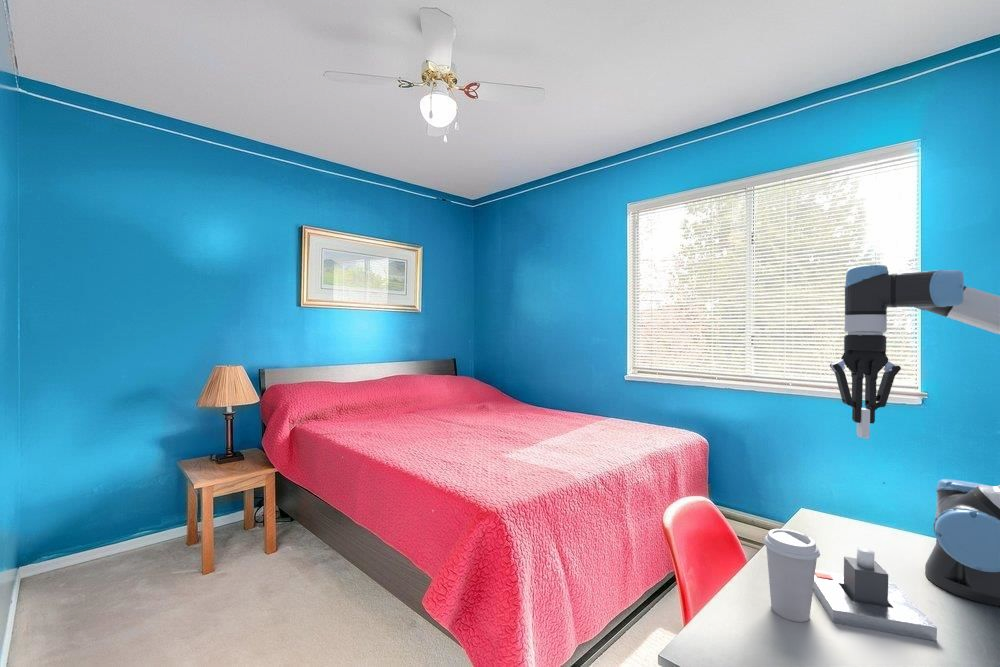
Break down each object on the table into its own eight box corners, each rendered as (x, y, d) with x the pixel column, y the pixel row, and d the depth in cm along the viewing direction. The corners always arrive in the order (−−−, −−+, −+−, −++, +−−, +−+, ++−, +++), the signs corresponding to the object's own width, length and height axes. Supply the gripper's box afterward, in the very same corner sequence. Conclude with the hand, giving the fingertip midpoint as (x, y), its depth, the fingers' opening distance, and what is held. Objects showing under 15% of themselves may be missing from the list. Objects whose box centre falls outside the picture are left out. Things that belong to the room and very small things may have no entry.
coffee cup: (828, 630, 86) (830, 551, 85) (773, 623, 87) (774, 545, 87) (805, 601, 95) (806, 529, 95) (755, 595, 97) (756, 525, 97)
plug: (874, 599, 95) (875, 546, 95) (887, 614, 90) (888, 559, 89) (843, 594, 97) (844, 542, 96) (854, 609, 91) (855, 554, 91)
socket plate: (892, 593, 98) (893, 581, 98) (936, 641, 83) (936, 626, 83) (806, 579, 103) (806, 567, 103) (833, 622, 88) (833, 608, 88)
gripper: (891, 334, 105) (889, 435, 105) (825, 333, 109) (823, 431, 109) (908, 334, 98) (906, 443, 98) (837, 333, 102) (835, 438, 102)
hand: (863, 437), depth 104 cm, fingers closed
